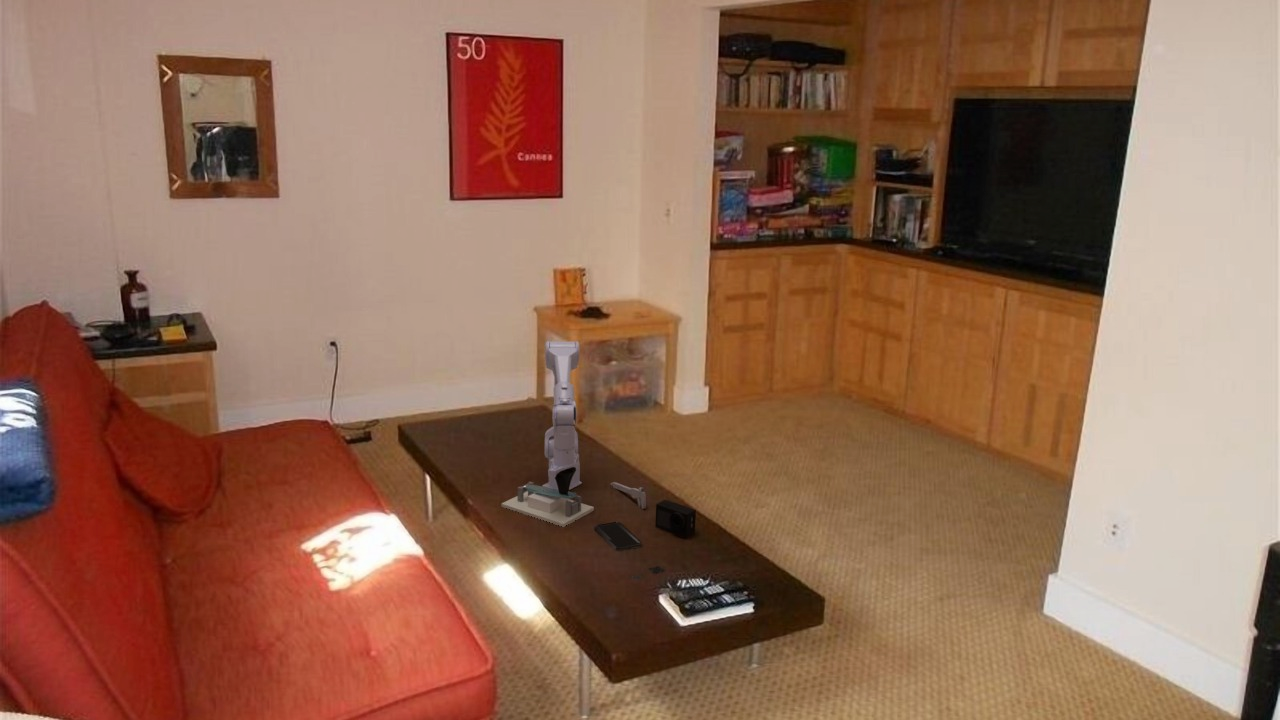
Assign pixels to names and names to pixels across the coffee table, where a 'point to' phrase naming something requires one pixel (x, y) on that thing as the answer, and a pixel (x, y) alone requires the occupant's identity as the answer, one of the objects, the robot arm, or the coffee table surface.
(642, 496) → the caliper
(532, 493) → the socket board
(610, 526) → the phone
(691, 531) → the digital camera
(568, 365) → the robot arm
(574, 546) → the coffee table surface
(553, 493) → the retention strap
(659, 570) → the circuit board
